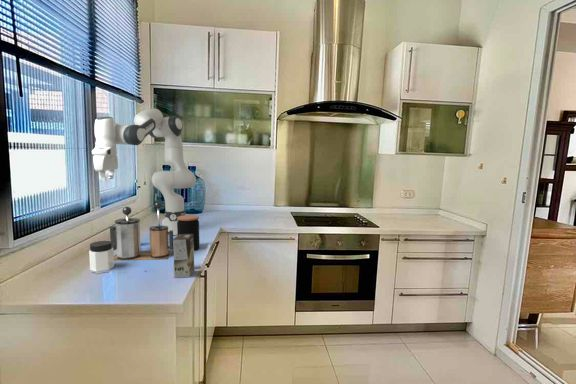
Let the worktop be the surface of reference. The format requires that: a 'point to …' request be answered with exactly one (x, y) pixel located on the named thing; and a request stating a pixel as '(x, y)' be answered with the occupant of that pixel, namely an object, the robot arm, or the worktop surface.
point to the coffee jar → (189, 227)
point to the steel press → (126, 238)
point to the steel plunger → (126, 212)
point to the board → (145, 256)
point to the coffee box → (183, 255)
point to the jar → (101, 256)
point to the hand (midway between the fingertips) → (107, 179)
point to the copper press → (160, 241)
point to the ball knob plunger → (158, 205)
